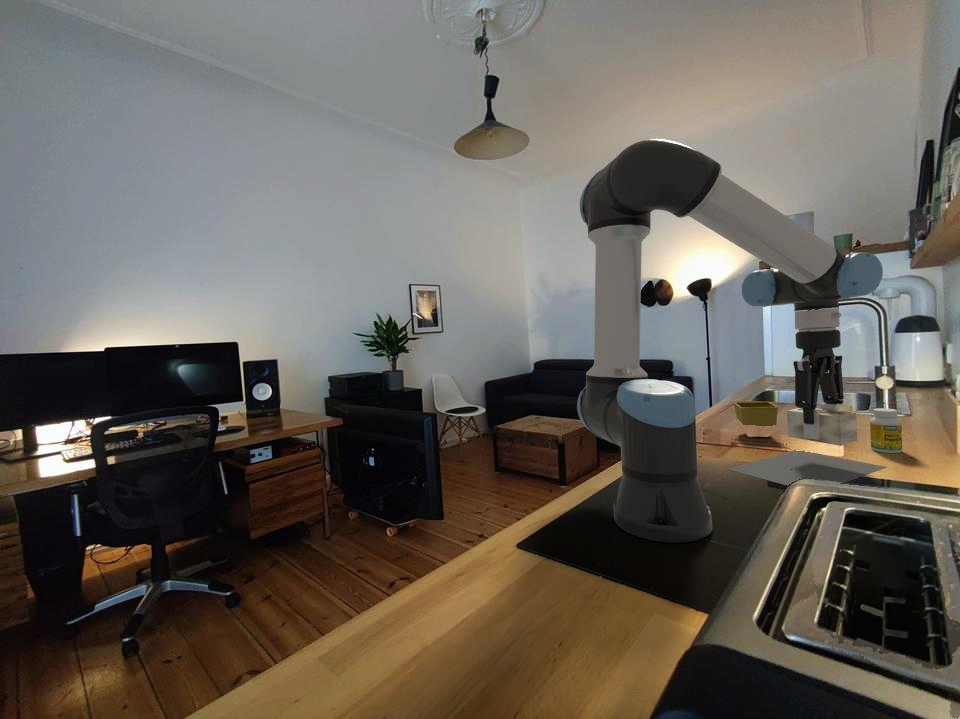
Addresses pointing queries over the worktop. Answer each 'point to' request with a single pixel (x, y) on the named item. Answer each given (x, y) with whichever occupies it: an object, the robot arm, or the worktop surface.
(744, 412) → the flower pot
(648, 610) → the worktop surface
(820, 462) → the mat
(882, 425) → the supplement bottle
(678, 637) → the worktop surface
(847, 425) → the pale grey rectangular box
